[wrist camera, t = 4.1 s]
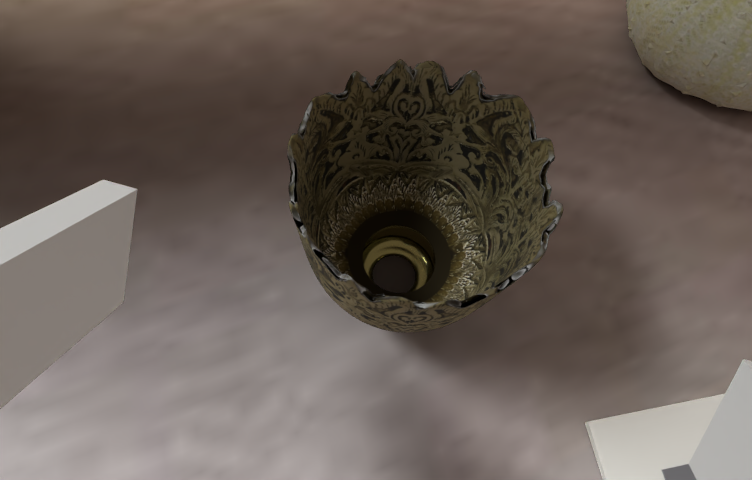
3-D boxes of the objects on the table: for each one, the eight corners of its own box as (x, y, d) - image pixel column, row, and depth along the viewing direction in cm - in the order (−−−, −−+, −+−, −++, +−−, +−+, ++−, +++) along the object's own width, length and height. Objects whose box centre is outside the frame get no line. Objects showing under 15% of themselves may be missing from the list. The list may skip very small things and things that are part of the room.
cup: (301, 183, 26) (295, 46, 19) (485, 193, 26) (549, 64, 19) (287, 371, 23) (274, 296, 16) (496, 378, 23) (577, 309, 16)
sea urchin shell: (754, -90, 32) (921, -113, 25) (742, 74, 35) (888, 96, 28) (587, -63, 30) (715, -79, 23) (590, 107, 33) (703, 140, 26)
